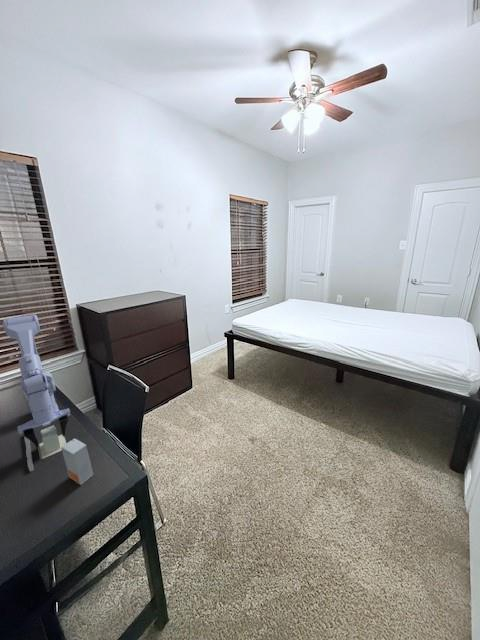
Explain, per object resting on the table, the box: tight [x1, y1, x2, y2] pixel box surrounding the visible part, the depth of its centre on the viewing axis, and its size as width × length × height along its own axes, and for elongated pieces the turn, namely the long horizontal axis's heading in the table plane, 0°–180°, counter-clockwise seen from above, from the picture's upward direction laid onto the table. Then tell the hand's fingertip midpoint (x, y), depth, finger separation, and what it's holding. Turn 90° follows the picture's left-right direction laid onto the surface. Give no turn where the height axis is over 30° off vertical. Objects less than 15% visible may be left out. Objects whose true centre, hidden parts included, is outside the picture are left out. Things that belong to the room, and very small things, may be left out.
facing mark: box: [37, 434, 68, 461], centre depth 94 cm, size 9×8×1 cm
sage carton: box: [40, 424, 60, 454], centre depth 93 cm, size 4×6×6 cm
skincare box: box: [61, 438, 94, 486], centre depth 80 cm, size 6×4×12 cm
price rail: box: [24, 436, 35, 472], centre depth 92 cm, size 22×1×2 cm, turn 41°
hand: (50, 440), depth 93 cm, fingers open, 7 cm apart
